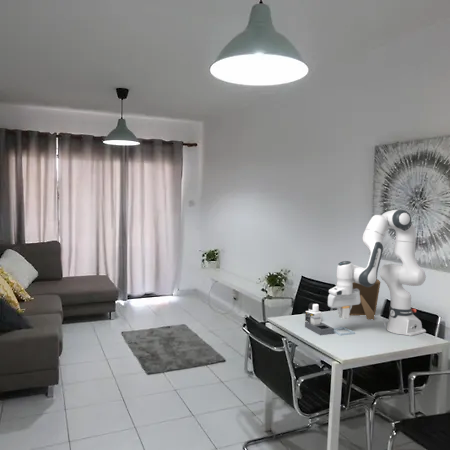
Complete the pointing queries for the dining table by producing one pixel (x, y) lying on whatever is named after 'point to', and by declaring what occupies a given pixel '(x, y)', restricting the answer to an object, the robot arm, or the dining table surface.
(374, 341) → the dining table surface
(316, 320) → the grey rectangular block
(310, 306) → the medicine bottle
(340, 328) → the tray
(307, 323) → the square-holed metal block
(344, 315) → the plug
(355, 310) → the photo frame
